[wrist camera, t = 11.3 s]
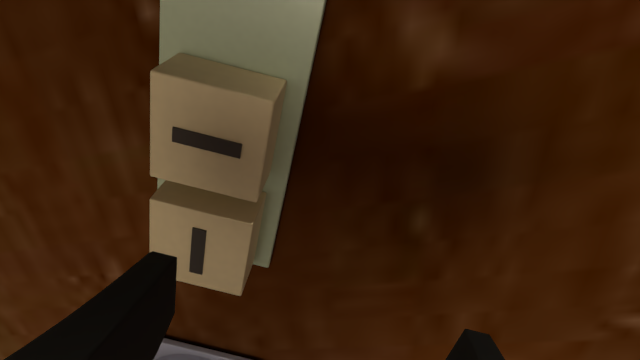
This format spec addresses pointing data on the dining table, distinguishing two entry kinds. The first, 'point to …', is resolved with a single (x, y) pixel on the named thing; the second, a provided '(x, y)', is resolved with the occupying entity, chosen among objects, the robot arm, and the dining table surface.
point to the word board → (258, 49)
